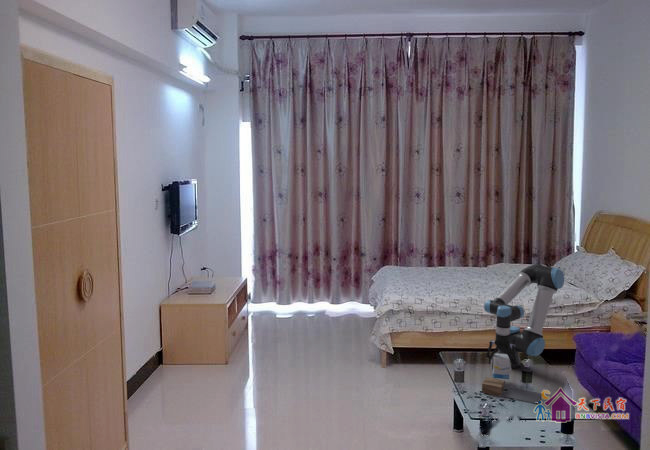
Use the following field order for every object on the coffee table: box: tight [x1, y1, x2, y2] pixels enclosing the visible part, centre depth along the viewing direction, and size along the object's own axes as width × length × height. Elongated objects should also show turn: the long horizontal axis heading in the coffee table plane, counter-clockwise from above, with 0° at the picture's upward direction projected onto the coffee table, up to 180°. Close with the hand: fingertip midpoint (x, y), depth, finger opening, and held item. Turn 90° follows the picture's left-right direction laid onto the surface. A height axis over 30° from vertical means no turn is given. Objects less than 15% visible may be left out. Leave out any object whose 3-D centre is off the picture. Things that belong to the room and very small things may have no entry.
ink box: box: [491, 352, 510, 380], centre depth 327 cm, size 8×8×12 cm
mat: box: [503, 386, 542, 404], centre depth 312 cm, size 14×17×1 cm
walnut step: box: [481, 376, 505, 397], centre depth 317 cm, size 10×10×5 cm
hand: (500, 371), depth 328 cm, fingers closed on ink box, 10 cm apart
